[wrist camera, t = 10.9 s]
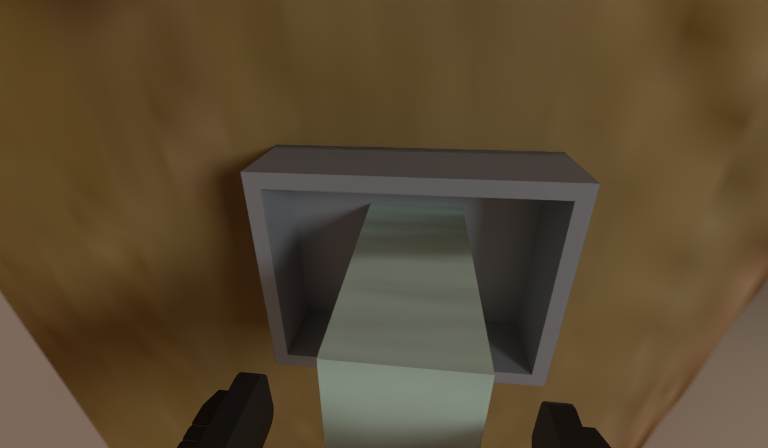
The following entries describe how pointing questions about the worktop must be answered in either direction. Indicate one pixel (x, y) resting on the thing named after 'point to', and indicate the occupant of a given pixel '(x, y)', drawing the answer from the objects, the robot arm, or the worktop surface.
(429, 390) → the sage block
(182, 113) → the worktop surface
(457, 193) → the bin
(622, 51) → the worktop surface
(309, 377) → the worktop surface
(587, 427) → the robot arm
